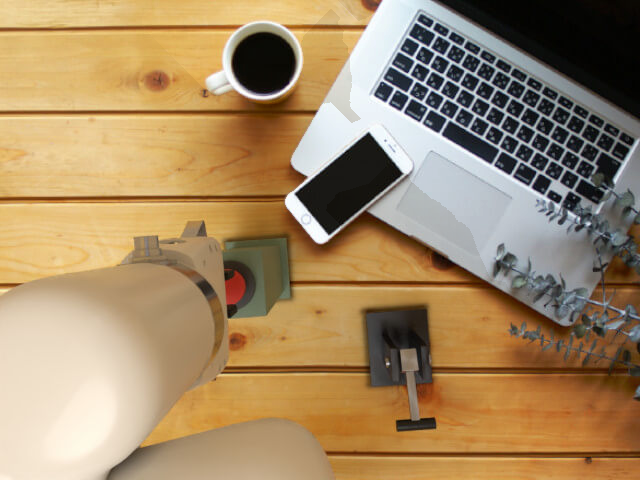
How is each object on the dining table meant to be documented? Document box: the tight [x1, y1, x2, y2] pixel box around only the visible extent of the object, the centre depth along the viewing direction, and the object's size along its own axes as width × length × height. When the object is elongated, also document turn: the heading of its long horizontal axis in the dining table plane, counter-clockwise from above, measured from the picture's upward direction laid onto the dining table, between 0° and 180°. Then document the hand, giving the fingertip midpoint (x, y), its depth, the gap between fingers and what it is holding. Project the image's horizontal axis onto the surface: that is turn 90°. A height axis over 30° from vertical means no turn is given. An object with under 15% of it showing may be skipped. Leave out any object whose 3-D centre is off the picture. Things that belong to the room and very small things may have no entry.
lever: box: [395, 348, 438, 433], centre depth 68 cm, size 10×5×2 cm, turn 4°
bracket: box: [365, 307, 433, 388], centre depth 73 cm, size 11×9×11 cm
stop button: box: [224, 269, 246, 304], centre depth 52 cm, size 4×4×1 cm
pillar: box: [221, 237, 292, 320], centre depth 66 cm, size 9×9×25 cm
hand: (219, 291), depth 48 cm, fingers closed
